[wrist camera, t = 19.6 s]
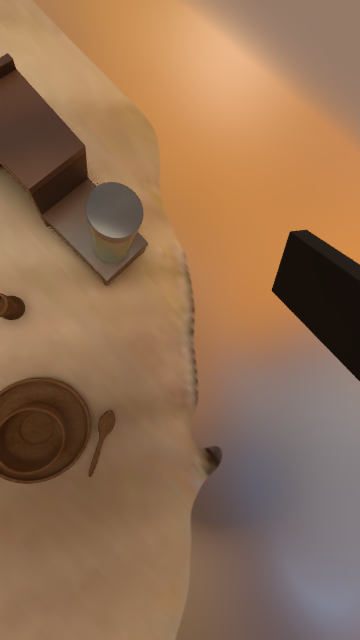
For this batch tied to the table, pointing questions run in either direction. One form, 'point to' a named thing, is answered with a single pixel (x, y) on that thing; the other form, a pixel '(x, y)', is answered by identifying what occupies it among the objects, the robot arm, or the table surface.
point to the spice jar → (113, 220)
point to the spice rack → (50, 166)
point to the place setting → (42, 423)
